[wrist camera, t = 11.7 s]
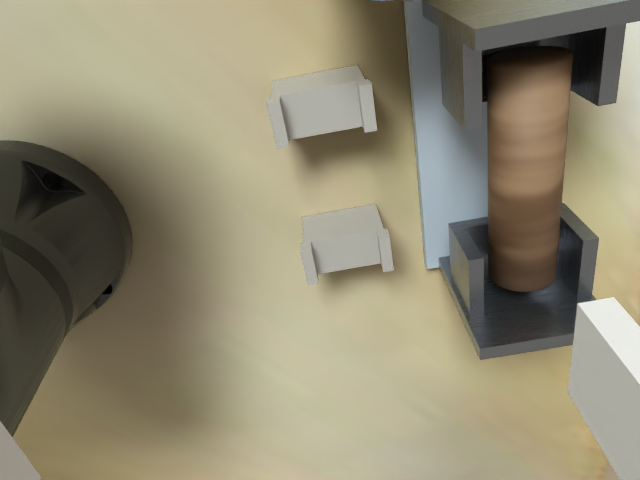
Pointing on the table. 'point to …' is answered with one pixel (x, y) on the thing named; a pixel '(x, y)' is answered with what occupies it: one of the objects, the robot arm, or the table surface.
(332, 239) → the rest blocks
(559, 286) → the brackets
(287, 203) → the table surface
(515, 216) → the brown cylinder
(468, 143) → the wall board
